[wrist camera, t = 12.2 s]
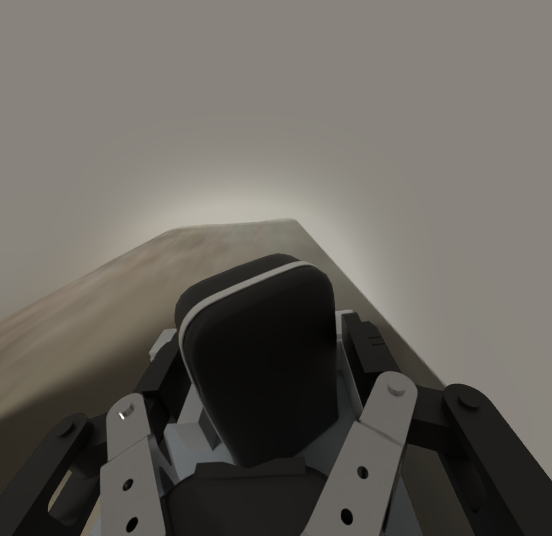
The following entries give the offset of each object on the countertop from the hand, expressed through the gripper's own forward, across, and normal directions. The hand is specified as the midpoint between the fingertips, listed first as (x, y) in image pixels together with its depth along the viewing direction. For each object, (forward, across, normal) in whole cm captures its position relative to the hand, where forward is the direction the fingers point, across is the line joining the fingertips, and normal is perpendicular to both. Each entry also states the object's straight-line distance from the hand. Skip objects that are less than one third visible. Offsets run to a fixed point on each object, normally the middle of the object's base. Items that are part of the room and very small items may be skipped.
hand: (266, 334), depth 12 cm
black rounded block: (-1, 0, +7) cm, 7 cm away
